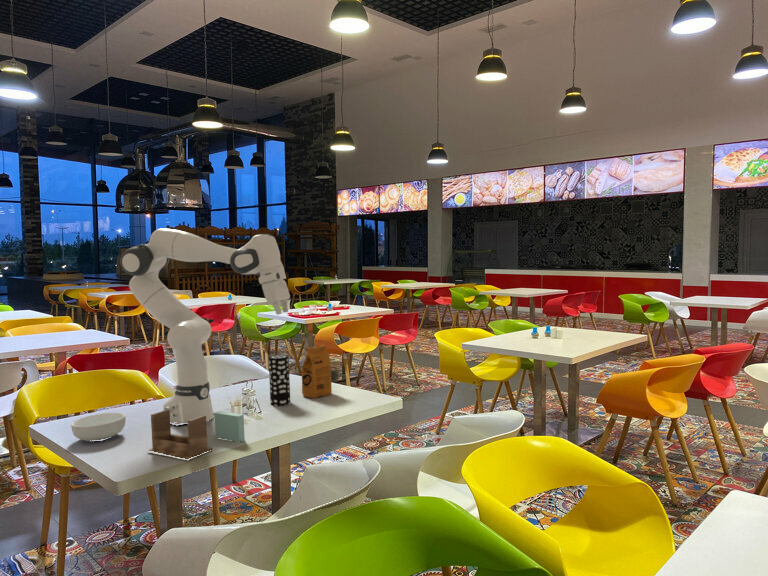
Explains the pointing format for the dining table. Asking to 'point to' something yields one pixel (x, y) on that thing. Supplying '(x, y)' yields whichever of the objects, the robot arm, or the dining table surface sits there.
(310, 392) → the coffee package
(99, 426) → the cereal bowl
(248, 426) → the dining table surface
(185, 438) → the wooden u-shaped stand
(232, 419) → the door panel
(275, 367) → the spotted tube
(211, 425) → the dining table surface
